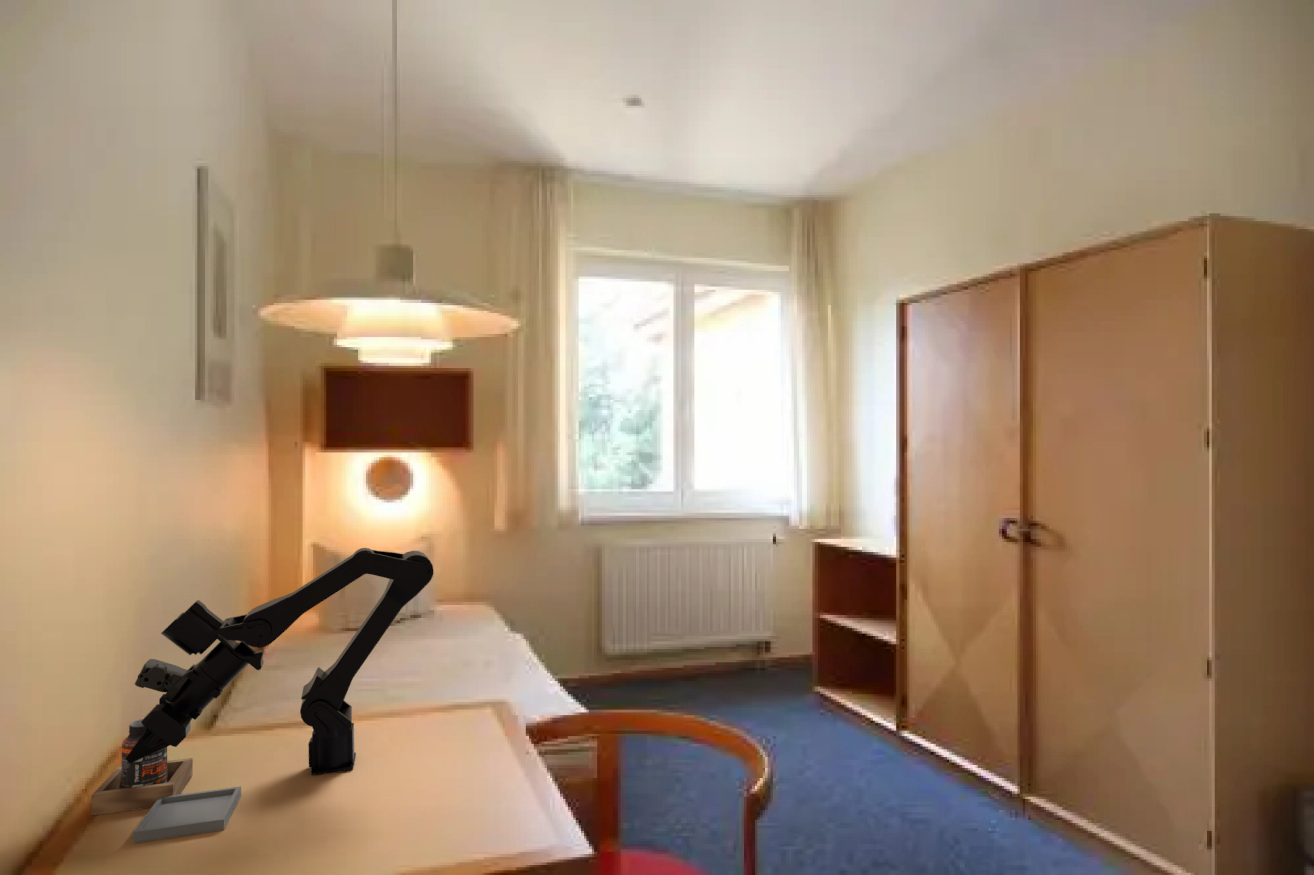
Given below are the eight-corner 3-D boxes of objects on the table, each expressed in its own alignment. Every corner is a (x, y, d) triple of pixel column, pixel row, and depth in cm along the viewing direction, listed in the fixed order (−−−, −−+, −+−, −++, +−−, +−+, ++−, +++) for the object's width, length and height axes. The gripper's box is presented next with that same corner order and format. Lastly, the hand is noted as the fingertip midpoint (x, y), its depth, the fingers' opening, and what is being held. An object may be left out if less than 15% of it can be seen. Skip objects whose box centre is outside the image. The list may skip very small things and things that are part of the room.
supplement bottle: (145, 805, 117) (143, 730, 117) (111, 802, 118) (110, 727, 118) (177, 787, 123) (176, 716, 123) (145, 785, 124) (144, 714, 124)
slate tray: (241, 796, 119) (241, 786, 119) (223, 830, 109) (223, 819, 109) (159, 807, 116) (159, 797, 116) (133, 843, 106) (133, 832, 106)
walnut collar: (192, 776, 127) (192, 757, 127) (173, 804, 117) (173, 784, 117) (118, 785, 124) (118, 766, 124) (91, 815, 114) (91, 795, 114)
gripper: (184, 628, 131) (108, 702, 127) (157, 656, 113) (67, 743, 109) (238, 669, 133) (164, 743, 129) (219, 703, 116) (133, 790, 112)
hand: (133, 753), depth 120 cm, fingers closed on supplement bottle, 6 cm apart
